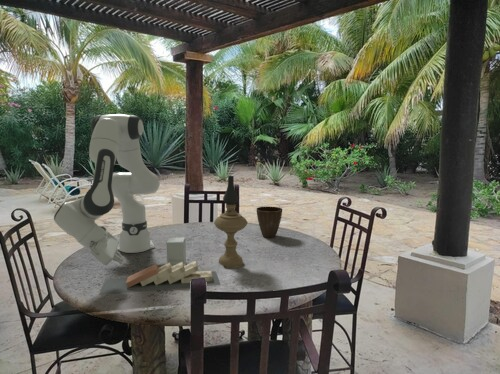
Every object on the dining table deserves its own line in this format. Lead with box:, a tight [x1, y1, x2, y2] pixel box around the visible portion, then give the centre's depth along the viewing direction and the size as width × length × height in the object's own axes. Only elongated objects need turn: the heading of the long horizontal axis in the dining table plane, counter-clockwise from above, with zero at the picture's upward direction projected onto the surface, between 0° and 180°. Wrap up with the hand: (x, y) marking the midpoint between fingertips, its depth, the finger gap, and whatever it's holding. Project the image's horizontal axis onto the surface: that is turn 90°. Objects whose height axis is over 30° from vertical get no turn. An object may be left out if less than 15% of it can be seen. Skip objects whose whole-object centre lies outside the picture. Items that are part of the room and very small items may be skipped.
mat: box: [98, 270, 221, 295], centre depth 142 cm, size 14×44×1 cm, turn 103°
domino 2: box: [140, 262, 172, 286], centre depth 141 cm, size 6×2×12 cm
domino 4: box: [168, 260, 199, 284], centre depth 143 cm, size 6×2×12 cm
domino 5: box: [181, 270, 212, 283], centre depth 145 cm, size 6×2×12 cm
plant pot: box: [255, 206, 283, 239], centre depth 209 cm, size 15×15×16 cm
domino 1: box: [126, 263, 159, 288], centre depth 140 cm, size 6×2×12 cm
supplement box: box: [165, 237, 187, 266], centre depth 159 cm, size 7×7×13 cm
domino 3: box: [154, 262, 185, 285], centre depth 142 cm, size 6×2×12 cm
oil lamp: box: [213, 175, 248, 269], centre depth 162 cm, size 15×15×40 cm
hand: (122, 261), depth 138 cm, fingers closed
